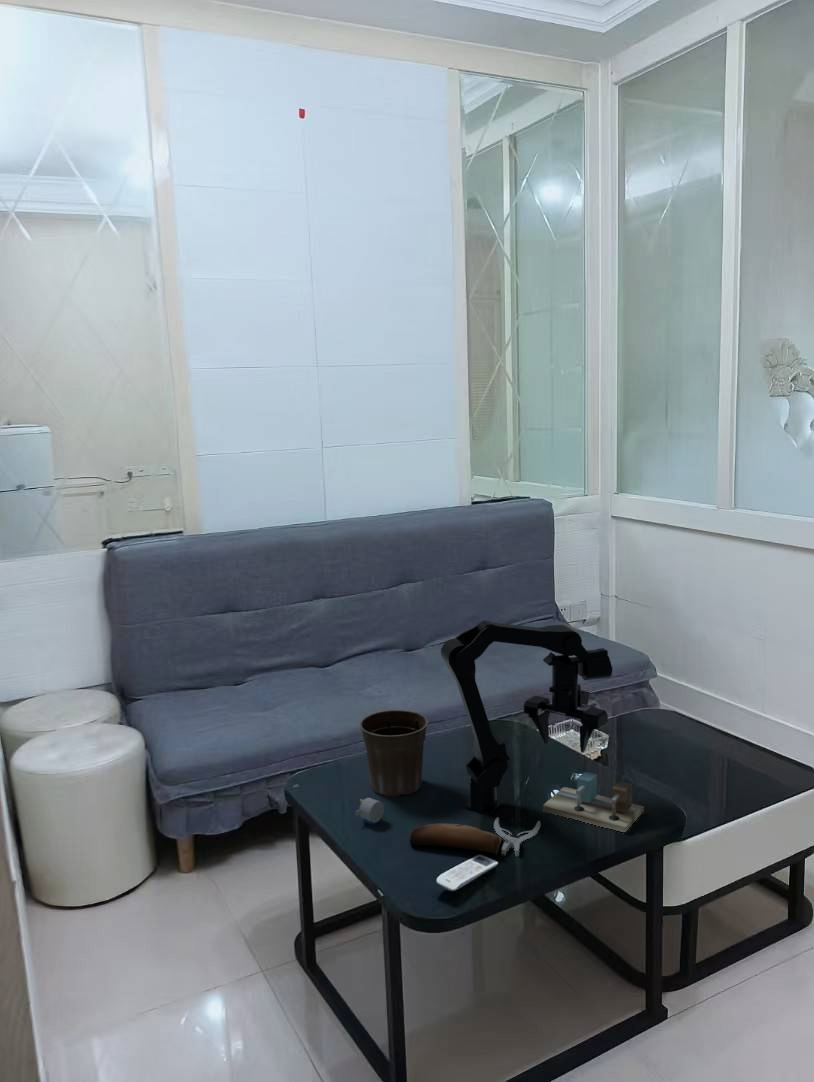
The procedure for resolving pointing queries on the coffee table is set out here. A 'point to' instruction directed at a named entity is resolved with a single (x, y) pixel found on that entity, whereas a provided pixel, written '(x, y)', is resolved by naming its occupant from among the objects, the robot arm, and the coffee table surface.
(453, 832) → the sunglasses case
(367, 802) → the electric motor
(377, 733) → the plant pot
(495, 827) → the pliers
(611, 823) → the beige board with blocks
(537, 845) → the coffee table surface
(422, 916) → the coffee table surface
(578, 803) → the teal block
